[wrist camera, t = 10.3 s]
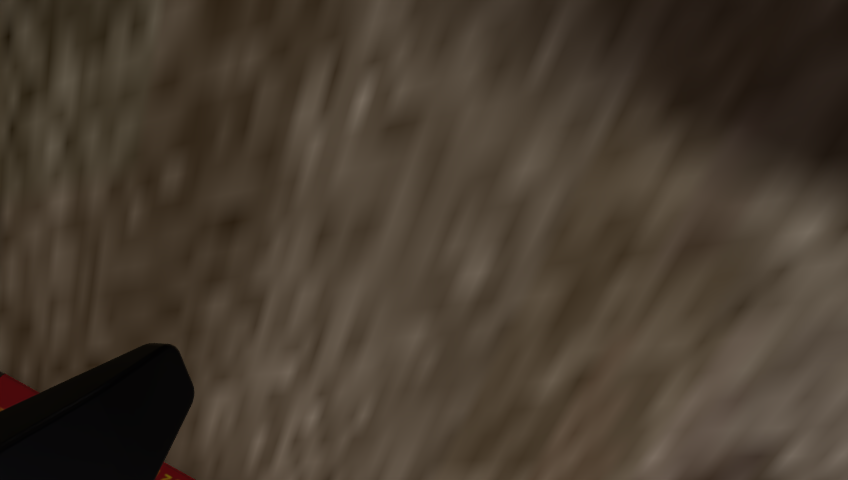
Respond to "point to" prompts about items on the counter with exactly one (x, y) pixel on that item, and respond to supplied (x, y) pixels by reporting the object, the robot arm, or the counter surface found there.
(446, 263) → the counter surface
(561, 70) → the counter surface
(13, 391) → the pasta box
